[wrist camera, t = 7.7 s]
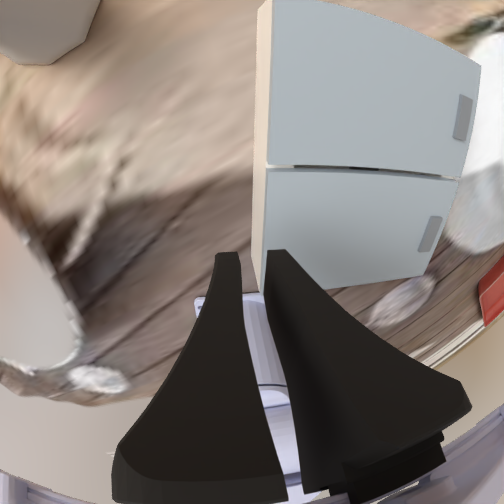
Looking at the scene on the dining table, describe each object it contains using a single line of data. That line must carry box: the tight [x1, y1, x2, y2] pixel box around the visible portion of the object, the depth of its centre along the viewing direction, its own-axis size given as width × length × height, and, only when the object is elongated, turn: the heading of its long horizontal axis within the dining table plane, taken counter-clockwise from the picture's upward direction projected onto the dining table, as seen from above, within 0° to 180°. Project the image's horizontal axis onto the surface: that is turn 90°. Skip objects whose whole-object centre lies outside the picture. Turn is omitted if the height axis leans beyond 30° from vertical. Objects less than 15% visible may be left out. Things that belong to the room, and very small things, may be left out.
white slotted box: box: [251, 0, 475, 292], centre depth 16 cm, size 18×14×4 cm
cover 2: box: [260, 168, 459, 296], centre depth 17 cm, size 9×14×1 cm, turn 89°
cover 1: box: [266, 0, 481, 178], centre depth 12 cm, size 9×14×1 cm, turn 89°
